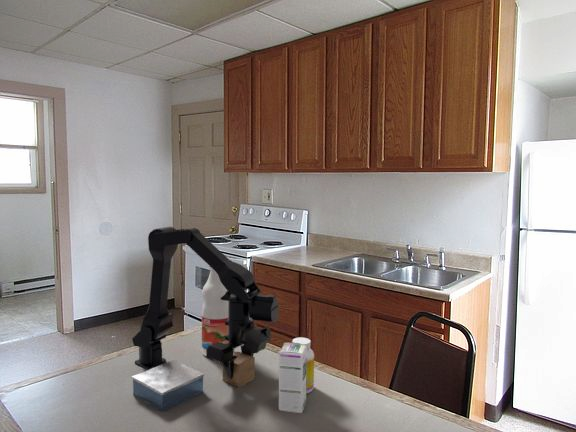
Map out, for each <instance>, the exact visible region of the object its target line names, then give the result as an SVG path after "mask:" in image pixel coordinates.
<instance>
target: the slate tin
mask: <svg viewBox="0 0 576 432" xmlns="http://www.w3.org/2000/svg"><path fill="white" fill-rule="evenodd" d="M204 377H205V373H203V372H201V371H199V370H197V369H194V368H192V367H190V366H187V365H186V364H184V363H181V362H179V361H177V360H174V359H173V360H170V361H166V362H164V363H161V364H159V365H156V366H154V367H151V368H149V369H146V370H145V371H142V372H140V373H137V374H135V375H132V376H131V380H132V394H133V395H134V396H135V397H136V398H139V399H140V400H142V401H144V402H145V403H147V404H148V405H151V407H154V408H156V409H157V410H158V411H160V412H163V413H164V412H165V411H168V410H169V409H171V408H173V407H176V406H177V405H179V404H181V403H183V402H185V401H188V400H189V399H192V398H194V397H195V396H198V395H199V394H201V393H203V392H204Z"/></svg>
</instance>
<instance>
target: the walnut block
mask: <svg viewBox="0 0 576 432" xmlns="http://www.w3.org/2000/svg"><path fill="white" fill-rule="evenodd" d="M234 355H235V356H238V357H237V358H236V359H235V360H234V369H233V378H232V379H230V378H228V376H227V374H226V371H225V369H224V367H223V366H222V381H223V382H226V383H228V384H231V385H232V386H235V387H239V388H240V387H243V386H244V385H247V383H250V382H251V381H253V380H254V379H255V373H256V372H255V369H256V367H255V365H256V364H255V363H256V362H255V361H256V360H255V359H256V358H255V356H254V355H253V356H250V355H247V354H244V353H242V352H241V351H236V352H234Z"/></svg>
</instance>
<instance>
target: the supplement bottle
mask: <svg viewBox="0 0 576 432" xmlns="http://www.w3.org/2000/svg"><path fill="white" fill-rule="evenodd" d="M291 343H300V344H305V345H307V371H306V374H307V375H306V395H307V394H309V393H311V392H312V391H313V390H314V386H315V381H314V380H315V352H314V351H313V350H312V348H311V344H312V341H311V340H310V338H307V337H302V336H301V337H295V338H292V341H291Z"/></svg>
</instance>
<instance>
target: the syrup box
mask: <svg viewBox="0 0 576 432" xmlns="http://www.w3.org/2000/svg"><path fill="white" fill-rule="evenodd" d="M306 371H307V345H305V344H300V343H292V342H283V345H282V346H281V348H280V349H279V351H278V410H279V411H281V412H287V413H296V414H303V411H304V409H305V407H306V403H307V394H306V375H307V374H306Z"/></svg>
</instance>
